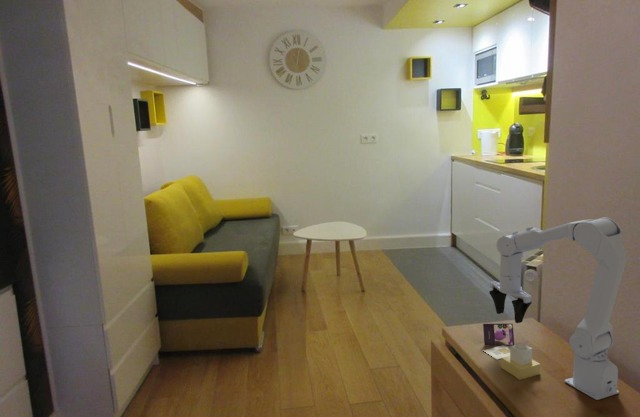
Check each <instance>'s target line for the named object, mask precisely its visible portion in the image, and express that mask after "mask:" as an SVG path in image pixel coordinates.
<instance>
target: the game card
mask: <svg viewBox="0 0 640 417" xmlns="http://www.w3.org/2000/svg"><path fill="white" fill-rule="evenodd" d="M495 326H497V327H498V330H496V331H495ZM482 328H483V342H484V346H485V345H489V346H488V347H499V346H503V345H504V346H506V347H510V346H513V345H515V337H514V335H515V334H514V324H513V323H483V324H482ZM505 329H508V331H507V330H505ZM507 332H508V333H509V334H508V333H507ZM507 336H508V337H509V341H508V344H506V343H504V344H503V343H501V344H499V343H497V344H496V341H499V342H500V341H503V340H505V339H507Z"/></svg>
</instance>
